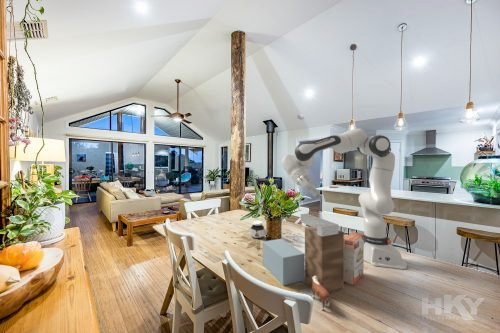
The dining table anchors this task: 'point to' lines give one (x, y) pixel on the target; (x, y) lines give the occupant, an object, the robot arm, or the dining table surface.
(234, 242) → the dining table surface
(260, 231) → the spread jar
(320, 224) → the light gray box
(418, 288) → the dining table surface
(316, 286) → the bull figurine
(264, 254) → the gray rectangular box
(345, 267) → the cracker box
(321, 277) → the stand
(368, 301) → the dining table surface
